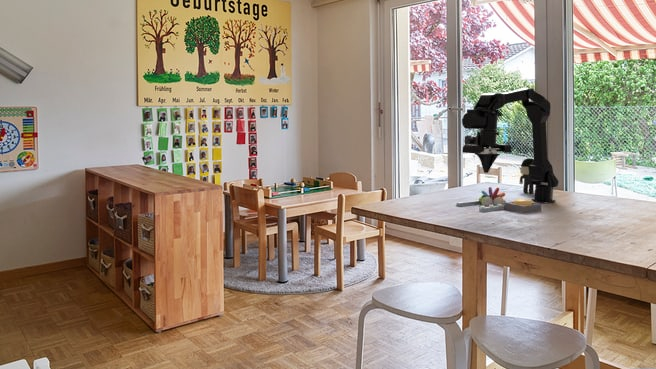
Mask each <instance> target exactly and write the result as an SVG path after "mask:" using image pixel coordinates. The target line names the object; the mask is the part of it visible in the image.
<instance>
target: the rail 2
mask: <svg viewBox="0 0 656 369" xmlns="http://www.w3.org/2000/svg"><path fill="white" fill-rule="evenodd" d="M499 210H505V209H504V205H502V204H497V206H494V205H493V204H492V205H489V207H485V206H483V205H481V206H480V207H479V208H478V212H481V213H483V212H485V213H486V212H491V211H499Z"/></svg>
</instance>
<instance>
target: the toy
mask: <svg viewBox="0 0 656 369" xmlns="http://www.w3.org/2000/svg"><path fill="white" fill-rule="evenodd" d="M533 161H534V158H531V157H529V158H525V159H523V160H522V162H521V164H520V168H519V169H520V174H521V176H520V177H519V185H523V187H522V188H523V189H522V190H523V193H524V194H527V193H529V194H533V193H535V188H534V186H535V185H532V184H531V179H530V175H528V174H529V168H528V167H529V165H531V164H532V162H533Z"/></svg>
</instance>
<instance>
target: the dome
mask: <svg viewBox="0 0 656 369" xmlns="http://www.w3.org/2000/svg"><path fill="white" fill-rule="evenodd" d="M513 201H514V204H518V205H523V206H524V205H532V202H533V201H532V199H525V198H524V199H523V198H522V199H521V198H519V199H513Z"/></svg>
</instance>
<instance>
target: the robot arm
mask: <svg viewBox="0 0 656 369" xmlns="http://www.w3.org/2000/svg"><path fill="white" fill-rule="evenodd" d="M519 101H520V102H521V106H522V107H523V108H524V109H525V110H526V117H527V119H528V120H529V121H530V123H531V130H532V131H531V132H532V133H531V134H532V135H531V136H532V149H533V150H532V151H533V159H534V161H533V162H532V164H531V165H529V167H528V168H529V174H528V175H530V179H531V184H532V185H534V186H535V188H534V198H532V199H531V201H532V202H537V203H542V204H544V203H553V202H554V203H555V202H556V199H553V196H554V195H553V194H554V188H556V187H558V185H559V179H558V178H557V177H556V175H555V173H554V169H553V165H552V164H551V162H550V161H549V159H548V139H547V138H548V137H547V121H548V119H549V118H550V117H551V102H550V101H549V100H548V99H547V98H546V97H545V96H544V95H542V94H540V93H539V92H536V90H535V89H533V87H532V88H531V87H521V88H520V89H516V90H511V91H507V92H502V93H499V92H498V93H497V92H494V93H482V94H480V96H479V98H478V101H476V103H475V105H474V107H473V109H470V108H467V109H466V113H464V114H463V116H462V119H461V124H462V127H463V128H464V129H465V130H479V131H477V133H476V135H475V136H472V135H470V134H469V135H468V134H467V135H465V136H464V139H463V140H464V145H463V146H462V153H466V154H474V155H475V156H477V157H478V158H479V160H480V164H481V167H482V170H483V173H485V174H488V173H489V172H490V170H491V168H492V166H493V165H494V163H495V161H496V159H497V158H498V157H499V156H500V155H501V154H500V153H498V152H501V153H505V154H507V153H510V154H511V153H512V146H511V144H504V143H503V144H502V143H497V136H500V132H498V130H497V129H498V118H499V117H502V116H503V114H502V112H500V111H499V110H500V109H501V108H504V107H505V106H506V105H507V104H511V103H515V102H519Z"/></svg>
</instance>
